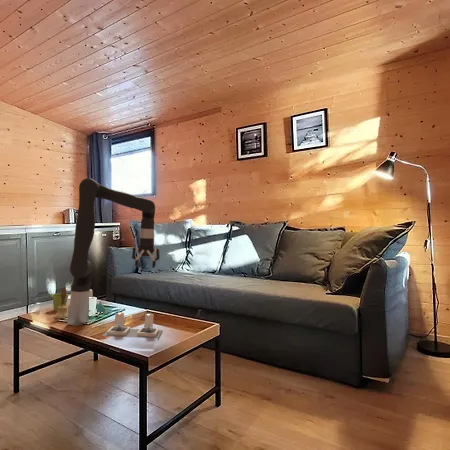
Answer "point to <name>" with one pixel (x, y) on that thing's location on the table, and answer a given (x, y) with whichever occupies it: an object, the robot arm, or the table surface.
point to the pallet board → (133, 333)
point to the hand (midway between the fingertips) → (145, 267)
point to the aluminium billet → (148, 323)
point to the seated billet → (119, 321)
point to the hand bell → (62, 306)
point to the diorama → (100, 308)
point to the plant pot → (58, 300)
